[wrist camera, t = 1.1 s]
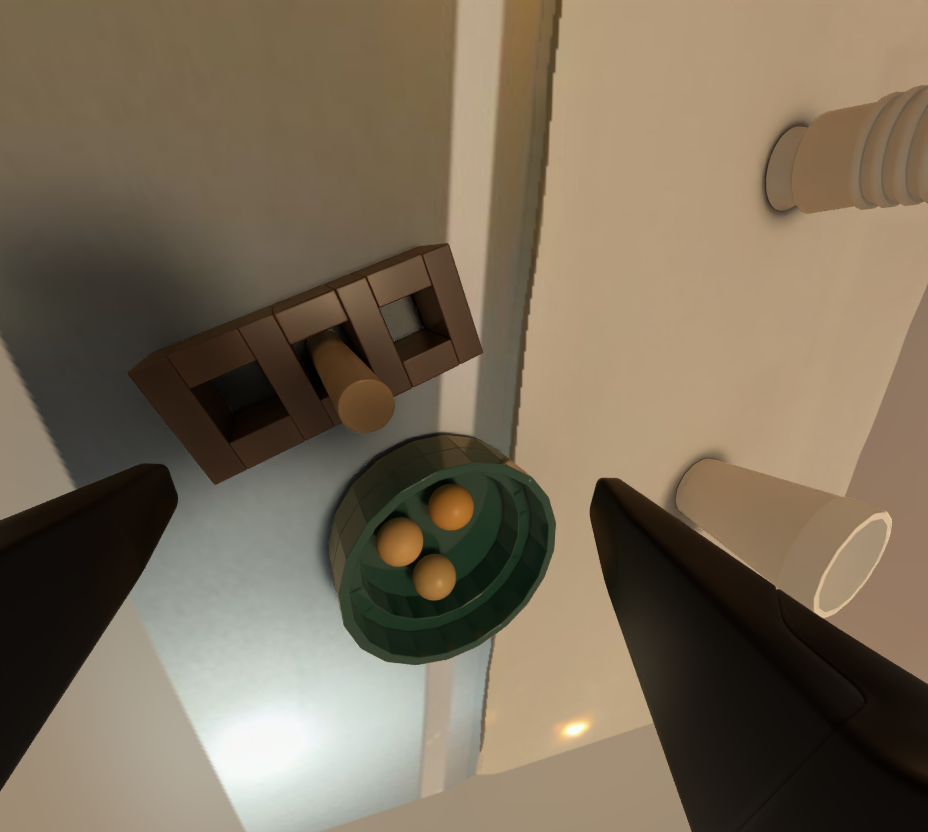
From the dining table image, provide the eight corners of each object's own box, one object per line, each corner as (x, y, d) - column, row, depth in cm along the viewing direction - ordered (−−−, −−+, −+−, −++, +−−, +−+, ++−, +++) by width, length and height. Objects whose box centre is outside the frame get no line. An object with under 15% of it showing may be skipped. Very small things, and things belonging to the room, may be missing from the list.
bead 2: (430, 522, 28) (447, 548, 26) (415, 490, 27) (431, 514, 24) (467, 500, 29) (487, 523, 27) (454, 468, 28) (473, 489, 25)
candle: (793, 228, 35) (1093, 209, 23) (750, 200, 32) (1072, 158, 19) (829, 141, 34) (1174, 66, 21) (787, 102, 30) (1165, -15, 18)
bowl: (381, 640, 31) (400, 701, 26) (285, 502, 24) (289, 553, 20) (534, 540, 34) (572, 580, 30) (486, 396, 28) (527, 420, 23)
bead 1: (381, 555, 28) (393, 585, 25) (363, 524, 26) (373, 552, 24) (421, 532, 28) (436, 559, 26) (404, 500, 27) (419, 525, 24)
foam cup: (649, 509, 40) (798, 604, 29) (703, 429, 39) (876, 494, 28) (692, 536, 45) (834, 626, 34) (741, 465, 44) (900, 533, 33)
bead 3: (416, 587, 30) (430, 618, 27) (400, 560, 28) (414, 589, 26) (451, 565, 30) (468, 593, 28) (438, 537, 29) (454, 563, 26)
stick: (316, 367, 22) (353, 442, 13) (300, 337, 22) (327, 394, 12) (346, 354, 23) (403, 417, 14) (331, 324, 22) (381, 369, 13)
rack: (222, 451, 22) (214, 486, 18) (150, 353, 19) (125, 372, 16) (454, 341, 25) (484, 353, 22) (421, 245, 23) (449, 242, 19)
